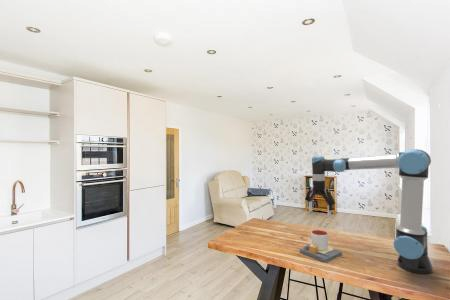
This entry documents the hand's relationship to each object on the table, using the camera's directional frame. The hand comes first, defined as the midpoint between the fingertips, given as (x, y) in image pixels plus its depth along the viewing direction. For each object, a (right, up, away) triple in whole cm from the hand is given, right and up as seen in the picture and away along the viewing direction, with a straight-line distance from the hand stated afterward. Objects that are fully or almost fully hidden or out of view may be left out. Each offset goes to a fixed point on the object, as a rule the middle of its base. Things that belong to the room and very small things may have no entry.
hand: (319, 213), depth 156 cm
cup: (0, -23, 0) cm, 23 cm away
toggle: (-6, -23, -6) cm, 24 cm away
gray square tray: (-1, -25, -3) cm, 25 cm away
